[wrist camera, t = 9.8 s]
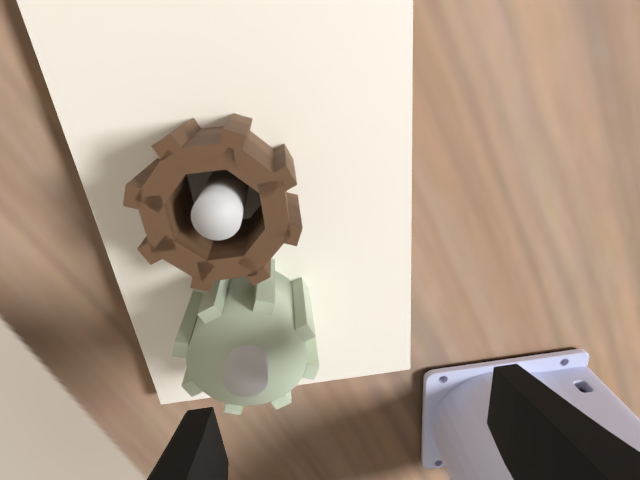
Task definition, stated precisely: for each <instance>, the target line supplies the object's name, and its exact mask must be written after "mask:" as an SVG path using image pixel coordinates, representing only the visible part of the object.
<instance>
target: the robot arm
mask: <svg viewBox="0 0 640 480" xmlns="http://www.w3.org/2000/svg"><path fill="white" fill-rule="evenodd" d="M588 361H589V355H588V353H587V352H586V351H585V350H583V349H574V350H567V351H560V352H553V353H546V354H539V355H532V356H525V357H518V358H511V359H504V360H497V361H490V362H483V363H475V364H468V365H461V366H454V367H447V368H440V369H433V370H429V371H428V372H426V373H425V375H424V378H423V414H422V452H421V461H422V464H423V467H424V468H426V469H435V468H441V467H445V468H446V470H447V472H448V475H449V477H450V480H640V419H639V418H638V417H637V416H636V415H635V414H634V413H633V412H632V411H631V410H630V409H629V408H628V407H627V406H626V405H625V404H624V403H623V402H622V401H621V400H620V399H619V398H618V397H617V396H616V395H615V394H614V393H613V392H612V391H611V390H610V389H609V388H608V387H607V386H606V385H605V384H604V383H603V382H602V381H601V380H600V379H599V378H598V377H597V376H596V375H595V374H594V373H593V372H592V371H591V370H590V369H589V368H588V367H587V365H588ZM442 376H444V377H442ZM440 377H442V378H440ZM147 480H228V458H227V455H226V451H225V448H224V444H223V441H222V437H221V434H220V430H219V427H218V423H217V420H216V416H215V413H214V409H213V407H209V408H202V409H195V410H188V411H187V413H186V414H185V415H184V417H183V419H182V420H181V422H180V424H179V426H178V428H177V429H176V431H175V433H174V435H173V437H172V438H171V440H170V442H169V444H168V445H167V447H166V449H165V450H164V452H163V454H162V455H161V457H160V459H159V461H158V462H157V464H156V466H155V467H154V469H153V471H152V472H151V474H150V475H149V477H148V479H147Z"/></svg>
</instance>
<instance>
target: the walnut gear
mask: <svg viewBox="0 0 640 480" xmlns="http://www.w3.org/2000/svg"><path fill="white" fill-rule="evenodd" d="M252 120H253V119H252V118H249V117H246V116H242V115H239V114H235V113H234V114H233V115H232V117H231V118H230V119H229V121H228V122H227V123H226V124H225V126H220V127H212V128H203V129H201V128H200V126H199V125H198V123H197V122H196V120H195V119H194V118H192V119H191V120H189V121H187V122H186V123H184V124H182V125H181V126H179V127H177V128H176V129H174V130H173V131H172V132H170V133H169V134H167V135H166V136H165V137H163V138H162V139H160V140H159V141H157V142H156V143H155V144H153V145H152V146H151V147H152V148H153V149H154V151H155V152H156V153H157V155H158V156H159V158H160V159H158V158H157V159H156V160H154V161H153V162H152V163H151V164H150V165H148V166H147V167H146V168H145V169H144V170H143V171H141V172H140V173H139V174H138V175H137V176H135V177H134V178H133V179H132V180H131V181H129V182H128V183H127V184H126V185H125V193H124V201H123V206H125V207H130V208H134V209H138V210H139V213H140V217H141V220H142V223H143V226H144V229H145V233H146V237H145V239H144V240H143V241H142V243H141V244H140V245H139V247H138V248H137V250H138V251H139V252H140V253H141V254H142V255H143V257H144V258H145V259H146V260H147V261H148V263H149V264H150V265H152V264H154V263H156V262H157V261H159V260H161V259H163V260H165V261H166V262H168V263H170V264H172V265H173V266H175V267H177V268H178V269H180V270H182V271H183V272H185V273H187V274H188V275H190V276H192V281H191V286H190V288H193V289H198V290H203V291H208V292H211V288H212V285H213V281H217V280H224V279H232V278H240V277H247V278H248V280H249V281H250V283H251V284H252V285H253V286H255V285H257V284H259V283H261V282H262V281H264V280H266V279H268V278H270V276H271V258H272V257H273V256H274V255H275V253H276V252H277V251H278V250H279V249H280V247H281V246H282V245H283V244H289V245H293V246H297V245H298V241H299V238H300V235H301V232H302V228H303V227H302V220H301V214H300V207H299V200H298V195H296V194H292V193H288V192H287V190H289V189H291V188H292V187H294V186H296V185H297V180H296V173H295V167H294V160H293V158H292V156H291V154H290V152H289V151H288V149H287V147H286V145H285V144H283V145H281V146H279V147H277V148H276V149H273V148H272V147H271V146H269V145H268V144H267V143H266V142H264V141H263V140H262V139H260V138H259V137H258V136H256V135H255V134H254V133H253V132H251V131H250V128H251V124H252ZM218 170H228V171H229V172H230V173H232V174H233V175H235V176H236V177H237V178H239V179H240V180H242V181H243V182H244V183H246V184H247V185H248V186H250V187H251V188H253V189H254V190H255V191H257V192H258V193H259V194H260V200H261V205H260V206H259V207H258V209H257V210H256V211H255V212H254V214H253V215H252V216H251V218H247V219H242V222H241V226H240V228H239V230H238V231H237V232H236V234H234V235H233V236H232V237H230V238H228V239H225V240H211V239H208V238H205V237H204V236H202V235H201V234H199V233H198V232H197V231H196V229H195V228H194V226H193V224H192V221H191V210H192V207H193V205H194V202H193V198H192V194H191V190H190V186H189V182H188V178H187V174H193V173H201V172H209V171H218Z"/></svg>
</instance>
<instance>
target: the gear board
mask: <svg viewBox="0 0 640 480" xmlns="http://www.w3.org/2000/svg"><path fill="white" fill-rule="evenodd" d="M17 3H18V6H19V9H20V12H21V14H22V17H23V20H24V23H25V26H26V28H27V31H28V34H29V37H30V39H31V42H32V45H33V48H34V51H35V53H36V56H37V59H38V62H39V65H40V67H41V70H42V73H43V76H44V79H45V81H46V84H47V87H48V90H49V92H50V95H51V98H52V101H53V104H54V106H55V109H56V112H57V115H58V118H59V120H60V123H61V126H62V129H63V132H64V134H65V137H66V140H67V143H68V146H69V148H70V151H71V154H72V157H73V159H74V162H75V165H76V168H77V171H78V173H79V176H80V179H81V182H82V185H83V187H84V190H85V193H86V196H87V199H88V201H89V204H90V207H91V210H92V212H93V215H94V218H95V221H96V224H97V226H98V229H99V232H100V235H101V238H102V240H103V243H104V246H105V249H106V252H107V254H108V257H109V260H110V263H111V266H112V268H113V271H114V274H115V277H116V279H117V282H118V285H119V288H120V291H121V293H122V296H123V299H124V302H125V305H126V307H127V310H128V313H129V316H130V319H131V321H132V324H133V327H134V330H135V332H136V335H137V338H138V341H139V344H140V346H141V349H142V352H143V355H144V358H145V360H146V363H147V366H148V369H149V372H150V374H151V377H152V380H153V383H154V386H155V388H156V391H157V394H158V397H159V399H160V402H161V404H168V403H175V402H182V401H189V400H196V399H203V398H210V397H212V398H214V399H216V400H219V401H221V402H224V403H225V407H224V413H231V414H238V415H241V412H242V409H243V406H251V405H259V404H264V403H268V402H271V403H272V405H273V406H274V407H275V408H276V409H279V408H281V407H283V406H286V405H288V404H290V403H291V390H292V389H293V388H294V387H295V386H296V385H302V384H309V383H316V382H323V381H330V380H337V379H345V378H352V377H359V376H366V375H373V374H380V373H387V372H394V371H401V370H408V369H410V330H411V197H412V63H413V0H17ZM234 113H235V114H239V115H242V116H246V117H249V118H252V119H253V120H252V124H251V128H250V131H251V132H253V133H254V134H255V135H256V136H258V137H259V138H260V139H262V140H263V141H264V142H266V143H267V144H268V145H269V146H271V147H272V148H273V149H276V148H277V147H279V146H281V145H283V144H285V145H286V147H287V149H288V151H289V152H290V154H291V156H292V158H293V160H294V167H295V173H296V180H297V185H296V186H294V187H292V188H291V189H289V190H287V192H288V193H292V194H296V195H298V200H299V207H300V214H301V220H302V227H303V228H302V232H301V235H300V238H299V241H298V245H297V246H293V245H289V244H283V245H282V246H281V247H280V249H279V250H278V251H277V252H276V253H275V255H274V256H273V257H272V258H271V276H270V278H268V279H266V280H264V281H262V282H261V283H259V284H257V285H255V286H253V285H252V284H251V283H250V281H249V280H248V278H247V277H240V278H232V279H224V280H217V281H213V285H212V288H211V292H208V291H203V290H198V289H193V288H190V286H191V281H192V276H190V275H188V274H187V273H185V272H183V271H182V270H180V269H178V268H177V267H175V266H173V265H172V264H170V263H168V262H166V261H165V260H163V259H161V260H159V261H157V262H156V263H154V264H152V265H150V264H149V263H148V261H147V260H146V259H145V258H144V257H143V255H142V254H141V253H140V252H139V251H138V250H137V248H138V247H139V245H140V244H141V243H142V241H143V240H144V239H145V237H146V233H145V229H144V226H143V223H142V220H141V217H140V213H139V210H138V209H134V208H130V207H125V206H123V201H124V193H125V185H126V184H127V183H128V182H129V181H131V180H132V179H133V178H134V177H135V176H137V175H138V174H139V173H140V172H141V171H143V170H144V169H145V168H146V167H147V166H148V165H150V164H151V163H152V162H153V161H154V160H156V159H157V158H158V159H160V158H159V156H158V155H157V153H156V152H155V151H154V149H153V148H152V147H151V146H152V145H153V144H155V143H156V142H157V141H159V140H160V139H162V138H163V137H165V136H166V135H167V134H169V133H170V132H172V131H173V130H174V129H176V128H177V127H179V126H181V125H182V124H184V123H186V122H187V121H189V120H191V119H192V118H194V119H195V120H196V122H197V123H198V125H199V126H200V128H201V129H203V128H212V127H220V126H225V124H226V123H227V122H228V121H229V119H230V118H231V117H232V115H233V114H234ZM187 178H188V182H189V186H190V190H191V194H192V198H193V202H194V205H193V207H192V210H191V221H192V224H193V226H194V228H195V229H196V231H197V232H198V233H199V234H201V235H202V236H204V237H205V238H208V239H211V240H225V239H228V238H230V237H232V236H233V235H234V234H236V232H237V231H238V230H239V228H240V226H241V222H242V219H247V218H251V216H252V215H253V214H254V212H255V211H256V210H257V209H258V207H259V206H260V205H261V200H260V194H259V193H258V192H257V191H255V190H254V189H253V188H251V187H250V186H248V185H247V184H246V183H244V182H243V181H242V180H240V179H239V178H237V177H236V176H235V175H233V174H232V173H230V172H229V171H228V170H218V171H209V172H201V173H193V174H187Z"/></svg>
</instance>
